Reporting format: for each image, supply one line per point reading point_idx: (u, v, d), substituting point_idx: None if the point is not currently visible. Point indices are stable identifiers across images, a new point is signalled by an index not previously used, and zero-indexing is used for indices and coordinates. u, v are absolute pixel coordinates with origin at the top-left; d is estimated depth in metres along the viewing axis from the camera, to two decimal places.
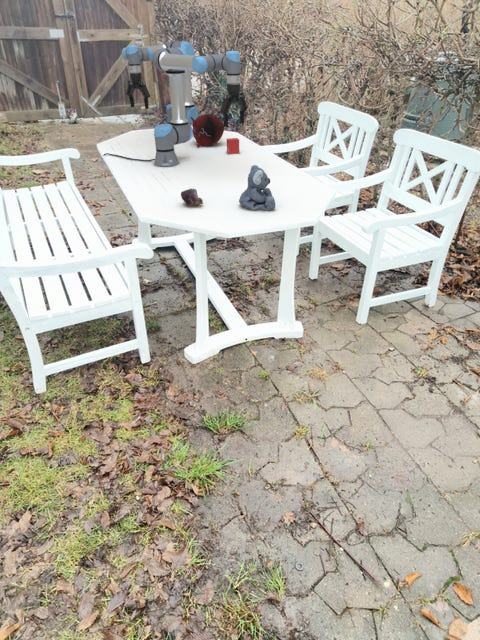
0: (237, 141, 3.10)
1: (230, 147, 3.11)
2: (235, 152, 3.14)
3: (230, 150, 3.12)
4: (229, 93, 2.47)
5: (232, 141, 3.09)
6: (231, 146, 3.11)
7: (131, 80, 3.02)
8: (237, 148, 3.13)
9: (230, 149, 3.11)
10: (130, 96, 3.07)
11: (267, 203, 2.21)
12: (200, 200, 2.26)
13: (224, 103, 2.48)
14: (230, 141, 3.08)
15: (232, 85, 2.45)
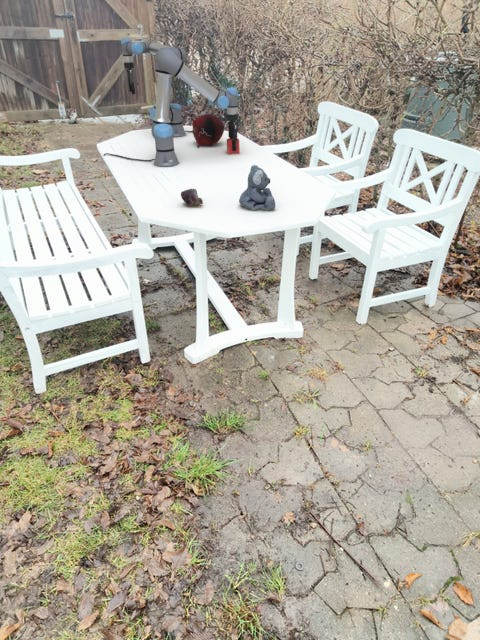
0: (237, 141, 3.10)
1: (230, 147, 3.11)
2: (235, 152, 3.14)
3: (230, 150, 3.12)
4: (234, 121, 3.01)
5: None
6: (231, 146, 3.11)
7: (129, 70, 3.43)
8: (237, 148, 3.13)
9: (230, 149, 3.11)
10: None
11: (267, 203, 2.21)
12: (200, 200, 2.26)
13: (235, 132, 3.03)
14: (230, 141, 3.08)
15: (236, 115, 3.00)
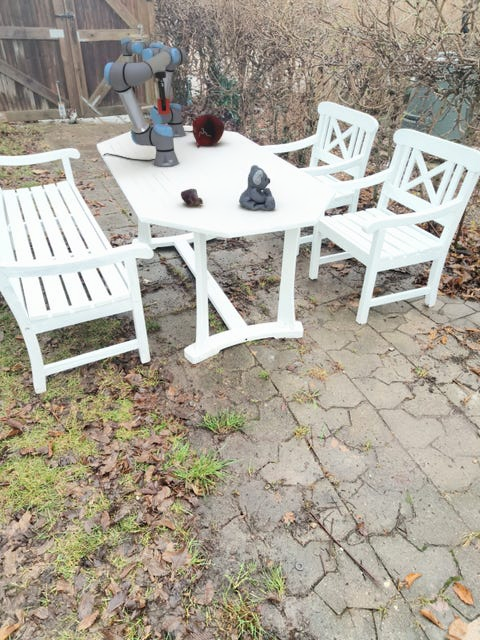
0: (167, 101, 3.00)
1: (160, 107, 3.01)
2: (165, 112, 3.04)
3: (160, 110, 3.02)
4: (161, 79, 2.91)
5: None
6: (161, 106, 3.01)
7: None
8: (167, 108, 3.03)
9: (160, 109, 3.02)
10: None
11: (267, 203, 2.21)
12: (200, 200, 2.26)
13: (163, 90, 2.93)
14: (159, 100, 2.99)
15: (163, 72, 2.90)
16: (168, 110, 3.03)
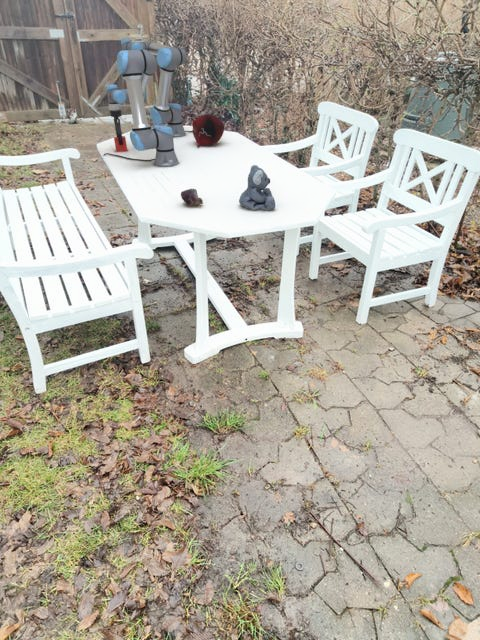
0: (123, 139, 3.17)
1: (117, 145, 3.18)
2: (123, 150, 3.21)
3: (117, 148, 3.19)
4: (117, 117, 3.07)
5: None
6: (118, 144, 3.18)
7: None
8: (124, 146, 3.20)
9: (117, 147, 3.19)
10: None
11: (267, 203, 2.21)
12: (200, 200, 2.26)
13: (118, 126, 3.07)
14: (116, 139, 3.16)
15: (118, 111, 3.06)
16: (125, 148, 3.21)
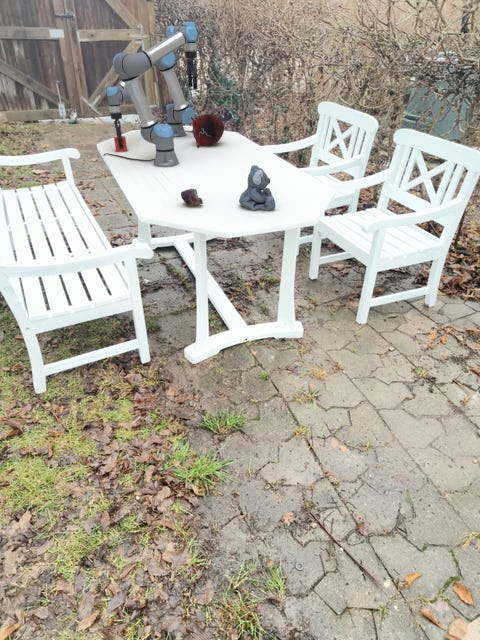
0: (123, 139, 3.17)
1: (117, 145, 3.18)
2: (123, 150, 3.21)
3: (117, 148, 3.19)
4: (192, 59, 2.85)
5: None
6: (118, 144, 3.18)
7: (116, 123, 3.07)
8: (124, 146, 3.20)
9: (117, 147, 3.19)
10: None
11: (267, 203, 2.21)
12: (200, 200, 2.26)
13: (194, 67, 2.85)
14: (116, 139, 3.16)
15: (194, 51, 2.84)
16: (125, 148, 3.21)
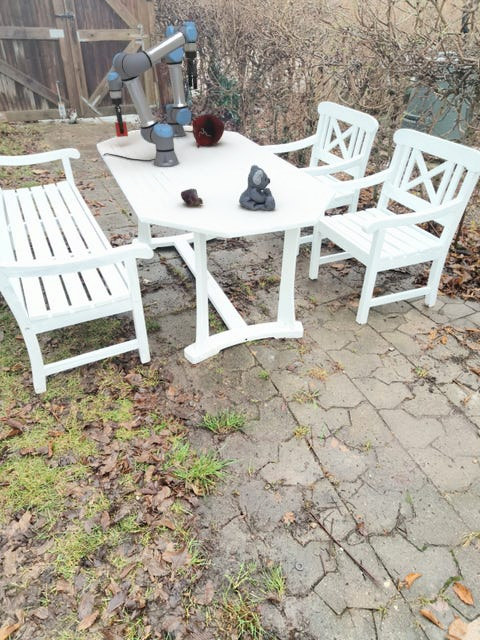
0: (124, 124, 3.24)
1: (118, 130, 3.24)
2: (124, 135, 3.27)
3: (118, 133, 3.25)
4: (192, 59, 2.85)
5: None
6: (119, 129, 3.24)
7: (117, 108, 3.14)
8: (125, 131, 3.26)
9: (118, 132, 3.25)
10: None
11: (267, 203, 2.21)
12: (200, 200, 2.26)
13: (194, 67, 2.85)
14: (117, 124, 3.22)
15: (194, 51, 2.84)
16: (126, 133, 3.27)
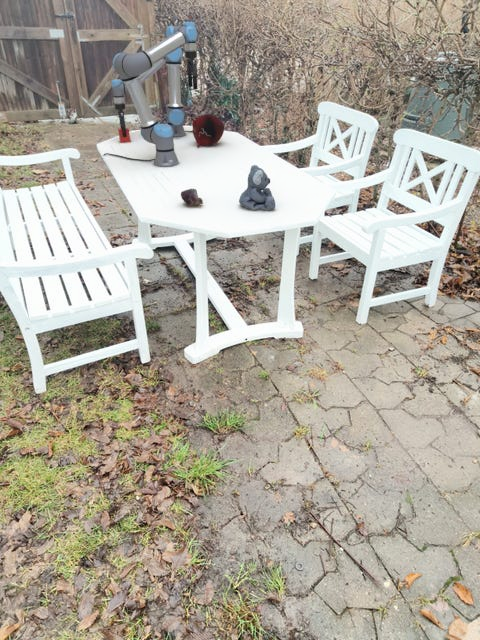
0: (127, 131, 3.40)
1: (121, 136, 3.41)
2: (126, 141, 3.44)
3: (121, 139, 3.42)
4: (192, 59, 2.85)
5: None
6: (122, 135, 3.41)
7: (120, 113, 3.29)
8: (128, 137, 3.43)
9: (121, 138, 3.41)
10: None
11: (267, 203, 2.21)
12: (200, 200, 2.26)
13: (194, 67, 2.85)
14: (120, 130, 3.38)
15: (194, 51, 2.84)
16: (129, 139, 3.43)
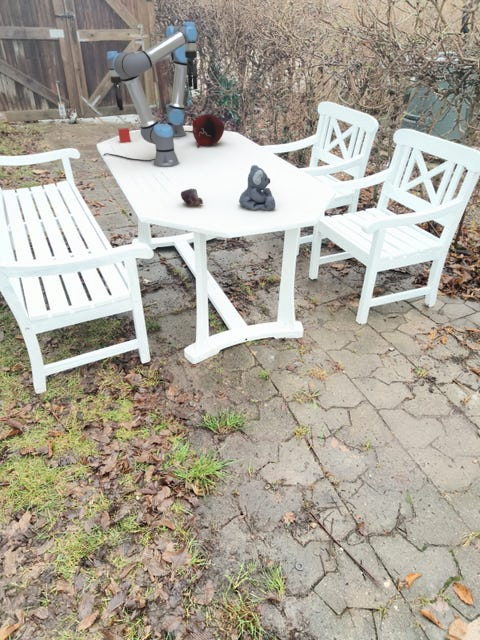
0: (127, 131, 3.40)
1: (121, 136, 3.41)
2: (126, 141, 3.44)
3: (121, 139, 3.42)
4: (192, 59, 2.85)
5: (122, 130, 3.39)
6: (122, 135, 3.41)
7: (116, 85, 3.19)
8: (128, 137, 3.43)
9: (121, 138, 3.41)
10: None
11: (267, 203, 2.21)
12: (200, 200, 2.26)
13: (194, 67, 2.85)
14: (120, 130, 3.38)
15: (194, 51, 2.84)
16: (129, 139, 3.43)
